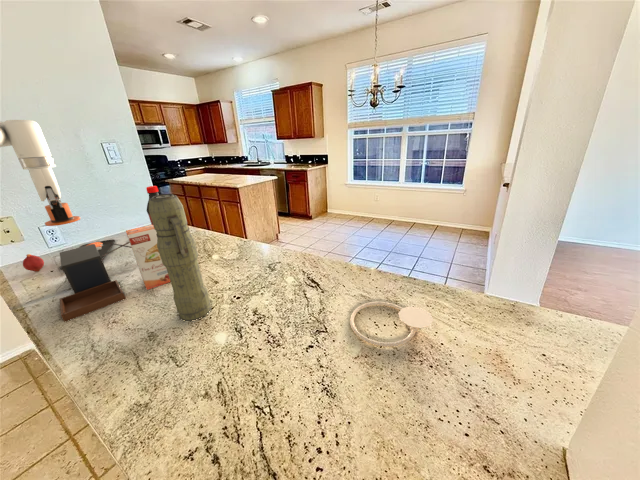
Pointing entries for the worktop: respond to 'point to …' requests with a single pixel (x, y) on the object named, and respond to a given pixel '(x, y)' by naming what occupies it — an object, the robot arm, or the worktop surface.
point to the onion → (33, 263)
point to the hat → (55, 223)
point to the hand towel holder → (408, 315)
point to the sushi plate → (104, 247)
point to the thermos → (179, 256)
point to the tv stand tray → (90, 300)
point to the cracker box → (148, 256)
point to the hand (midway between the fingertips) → (61, 217)
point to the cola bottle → (152, 192)
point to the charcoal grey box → (84, 268)
